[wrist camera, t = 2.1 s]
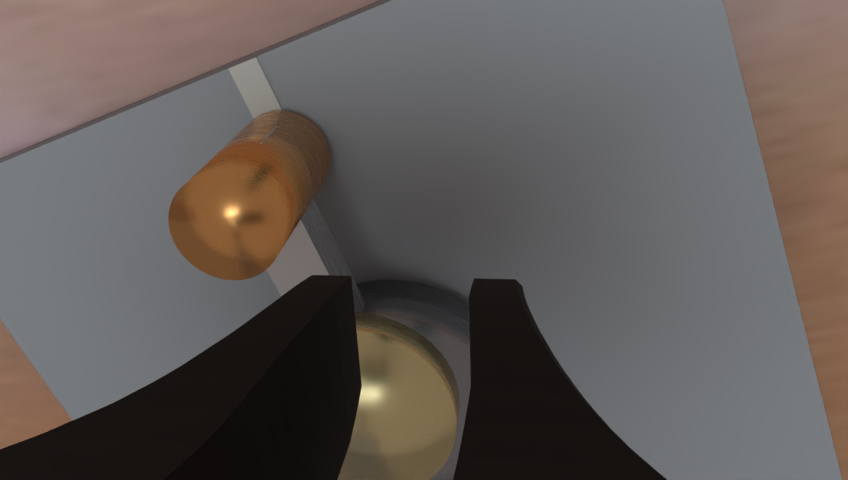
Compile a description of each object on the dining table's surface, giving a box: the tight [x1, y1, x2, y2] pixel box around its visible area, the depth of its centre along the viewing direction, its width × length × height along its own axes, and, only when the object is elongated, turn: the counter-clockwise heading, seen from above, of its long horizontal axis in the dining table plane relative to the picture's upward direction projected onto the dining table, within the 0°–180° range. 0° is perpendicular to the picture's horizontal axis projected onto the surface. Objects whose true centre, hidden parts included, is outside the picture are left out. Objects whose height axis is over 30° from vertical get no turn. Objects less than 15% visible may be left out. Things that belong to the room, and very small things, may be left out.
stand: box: [0, 0, 842, 480], centre depth 23 cm, size 20×22×1 cm
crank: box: [168, 110, 471, 480], centre depth 20 cm, size 12×7×4 cm, turn 22°
